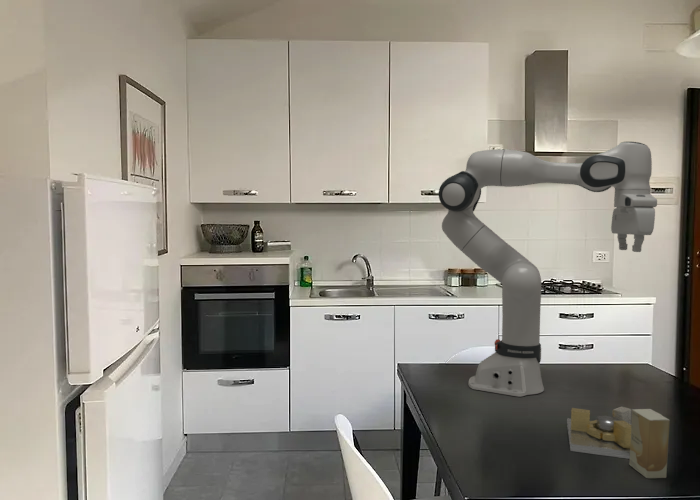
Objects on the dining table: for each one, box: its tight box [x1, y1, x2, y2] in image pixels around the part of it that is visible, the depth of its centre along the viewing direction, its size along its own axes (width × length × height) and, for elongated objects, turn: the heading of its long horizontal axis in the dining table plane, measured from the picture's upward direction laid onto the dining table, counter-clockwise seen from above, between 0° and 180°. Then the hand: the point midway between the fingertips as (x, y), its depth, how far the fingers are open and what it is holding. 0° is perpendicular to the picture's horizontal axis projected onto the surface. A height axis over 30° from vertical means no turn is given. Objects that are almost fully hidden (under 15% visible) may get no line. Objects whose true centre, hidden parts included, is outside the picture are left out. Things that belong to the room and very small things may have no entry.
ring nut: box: [570, 406, 632, 448], centre depth 127 cm, size 14×15×4 cm
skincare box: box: [628, 408, 671, 479], centre depth 111 cm, size 6×4×12 cm
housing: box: [566, 415, 630, 460], centre depth 126 cm, size 17×17×5 cm
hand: (629, 250), depth 151 cm, fingers open, 8 cm apart
